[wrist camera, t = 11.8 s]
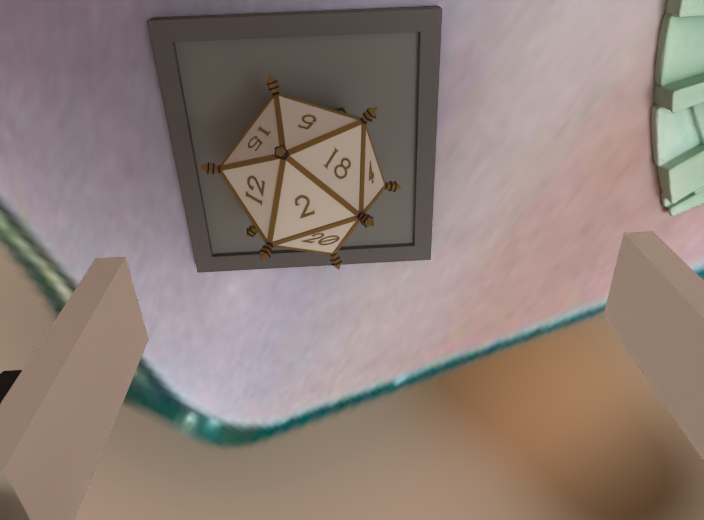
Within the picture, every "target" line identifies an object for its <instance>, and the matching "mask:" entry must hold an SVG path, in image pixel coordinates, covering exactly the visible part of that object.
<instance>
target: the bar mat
mask: <svg viewBox="0 0 704 520" xmlns="http://www.w3.org/2000/svg"><path fill="white" fill-rule="evenodd" d="M441 21H442V8H441V7H439V6H424V7H400V8H375V9H351V10H327V11H303V12H278V13H254V14H230V15H206V16H181V17H157V18H151V19H149V20H148V21H147V23H148V28H149V33H150V38H151V43H152V48H153V53H154V58H155V63H156V68H157V73H158V78H159V83H160V88H161V93H162V98H163V103H164V108H165V113H166V118H167V123H168V128H169V133H170V138H171V143H172V148H173V153H174V158H175V163H176V168H177V173H178V178H179V183H180V188H181V193H182V198H183V203H184V208H185V213H186V217H187V222H188V227H189V232H190V237H191V242H192V247H193V252H194V257H195V262H196V267H197V272H214V271H232V270H251V269H269V268H287V267H305V266H323V265H331V264H332V262H331V261H330V259H331V256H330V255H329V254H322V253H314V252H306V251H299V250H291V249H284V248H276V247H273V248H272V252H273V253H271V254H270V256H271V257H270V258H266V259H264V260H262V261H260V254H259V251H260V249H261V250H262V246H263V245H265V244H266V243H265V242H264V240H263V239H262V237H261V236H260V234H259V233H258V232H257V233H256V235H254V236H253V237H246V236H247V228H249V226H252V225H253V224H252V222H251V221H250V219H249V218H248V216H247V215H246V213H245V212H244V210H243V209H242V207H241V205H240V204H239V202H238V201H237V199H236V198H235V196H234V195H233V193H232V192H231V190H230V188H229V187H228V185H227V184H226V182H225V181H224V179H223V178H222V176H221V175H220V173H214V175H213V174H212V173H208V174H207V173H206V172H205V171H204V170H202V169H201V168H200V166H202V165H204V164H207V163H208V162H209V163H211V164H213V163H214V164H216V165H221V163H222V162H223V161H224V159H225V158H226V157H227V155H228V154H229V153H230V151H231V150H232V149H233V147H234V146H235V145H236V143H237V142H238V141H239V139H240V138H241V137H242V135H243V134H244V133H245V131H246V130H247V129H248V127H249V126H250V125H251V123H252V122H253V121H254V119H255V118H256V117H257V115H258V114H259V113H260V112H261V110H262V109H263V108H264V106H265V105H266V104H267V102H268V101H269V100H270V98H271V97H272V93H271V91H270V90H268V89H269V88H268V85H266V84H267V81H268V75H270V76H272V77H273V78H274V79H275V80H276V81H277V80H278V82H277V83H278V86H280V87H279V92H280V93H281V94H284V95H288V96H291V97H294V98H298V99H301V100H304V101H307V102H311V103H314V104H317V105H321V106H324V107H327V108H331V109H334V110H337V109H340V108H345V111H346V112H347V114H350V115H354V116H357V117H360V118H362V116H363V113H364V112H366V110H367V109H368V108H374V107H378V108H377V112H376V118H374V119H373V120H372V122H371V121H370V122H368V123H367V124H366V125H367V128H368V131H369V134H370V137H371V140H372V143H373V146H374V150H375V153H376V156H377V159H378V162H379V165H380V168H381V171H382V174H383V177H384V180H385V182H390V181H392V182H394V181H396V183H397V184H398V185H400V186H401V187H402V188H400V189H398V190H396V191H395V192H393V191H388V189H385V190H384V191H383V192H382V194H381V195H380V196H379V198H378V199H377V200H376V201H375V203H374V204H373V205H372V207H371V208H370V209H369V211H368V212H367V213H366V214H368V215H370V216H371V217H374V218H373V222H374V226H368V227H366V228H365V226H364V225H362V224H361V222H359V224H358V225H357V226H356V228H355V229H354V230H353V232H352V233H351V234H350V236H349V237H348V238H347V240H346V241H345V242H344V243H343V245H342V246H341V247H340V249H339V250H338V251H337V255H338V256H339V257H340V260H341V261H342V262H341V264H359V263H377V262H396V261H414V260H431V239H432V217H433V196H434V174H435V152H436V130H437V108H438V87H439V65H440V43H441ZM341 264H340V265H341Z"/></svg>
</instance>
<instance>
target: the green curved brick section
mask: <svg viewBox="0 0 704 520" xmlns="http://www.w3.org/2000/svg"><path fill="white" fill-rule="evenodd" d="M654 80H655V87H654V105H653V106H652V108H651V137H652V149H653V160H654V163H655V164H656V165H657V169H658V176H659V181H660V186H661V189H662V193H661V199H662V204H663V206H664V207H667V208H668V212H669V214H670V216H675V215H678V214H680V213H682V212H685V211H687V210H689V209H692V208H694V207H697V206H700V205H702V204H704V0H668V1H667V6H666V11H665V15H664V17H663V19H662V23H661V28H660V34H659V40H658V46H657V56H656V66H655V79H654Z"/></svg>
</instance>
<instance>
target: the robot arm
mask: <svg viewBox="0 0 704 520" xmlns="http://www.w3.org/2000/svg"><path fill="white" fill-rule="evenodd" d="M604 318H605V319H606V320H607V322H608V323H609V325H610V326H611V328H612V329H613V331H614V332H615V334H616V335H617V336H618V338H619V339H620V341H621V342H622V344H623V345H624V347H625V348H626V349H627V351H628V352H629V354H630V355H631V357H632V358H633V359H634V361H635V362H636V364H637V365H638V367H639V368H640V370H641V371H642V373H643V374H644V375H645V377H646V378H647V380H648V381H649V383H650V384H651V386H652V387H653V388H654V390H655V391H656V393H657V394H658V396H659V397H660V399H661V400H662V401H663V403H664V404H665V406H666V407H667V409H668V410H669V412H670V413H671V414H672V416H673V418H674V419H675V420H676V422H677V423H678V425H679V426H680V428H681V429H682V431H683V432H684V433H685V435H686V436H687V438H688V439H689V440H690V442H691V444H692V445H693V446H694V448H695V449H696V451H697V452H698V454H699V455H700V457H701V458H702V459H703V461H704V281H703V280H702V279H701V278H700V277H699V276H698V275H697V274H696V273H695V272H694V271H693V270H692V269H691V268H690V267H689V266H688V265H687V264H686V263H685V262H684V261H683V260H682V259H681V258H680V257H679V256H677V255H676V254H675V253H674V252H673V251H672V250H671V249H670V248H669V247H668V246H667V245H666V244H665V243H664V242H663V241H662V240H661V239H660V238H659V237H658V236H657V235H656V234H655V233H654V232H653V231H649V232H628V233H624V235H623V239H622V243H621V247H620V251H619V255H618V259H617V263H616V267H615V271H614V275H613V279H612V283H611V287H610V291H609V296H608V300H607V304H606V308H605V312H604ZM148 340H149V339H148V336H147V332H146V329H145V325H144V321H143V318H142V314H141V311H140V307H139V303H138V300H137V296H136V293H135V289H134V286H133V282H132V278H131V275H130V271H129V268H128V264H127V261H126V257H114V258H96V259H95V261H94V262H93V264H92V265H91V267H90V268H89V270H88V271H87V273H86V274H85V276H84V277H83V279H82V280H81V282H80V283H79V285H78V286H77V288H76V289H75V291H74V292H73V294H72V296H71V297H70V299H69V300H68V302H67V303H66V305H65V306H64V308H63V309H62V311H61V312H60V314H59V315H58V317H57V318H56V320H55V321H54V323H53V324H52V326H51V327H50V329H49V330H48V332H47V334H46V335H45V337H44V338H43V340H42V341H41V343H40V344H39V346H38V347H37V349H36V350H35V352H34V353H33V355H32V357H31V358H30V359H29V361H28V363H27V364H26V365H25V367H24V369H23V370H14V371H3V372H2V373H1V374H0V520H75V518H76V515H77V513H78V511H79V508H80V506H81V503H82V501H83V498H84V496H85V493H86V491H87V489H88V486H89V484H90V481H91V478H92V476H93V474H94V471H95V469H96V466H97V464H98V462H99V459H100V457H101V454H102V452H103V449H104V447H105V444H106V442H107V440H108V437H109V435H110V432H111V430H112V428H113V425H114V423H115V420H116V418H117V415H118V413H119V410H120V408H121V406H122V403H123V401H124V398H125V396H126V393H127V391H128V388H129V386H130V384H131V381H132V379H133V376H134V374H135V371H136V369H137V366H138V364H139V362H140V359H141V357H142V354H143V352H144V349H145V347H146V345H147V342H148Z"/></svg>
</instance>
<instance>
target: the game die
mask: <svg viewBox="0 0 704 520" xmlns="http://www.w3.org/2000/svg"><path fill="white" fill-rule="evenodd" d="M277 82H278V80H277V81H276V80H275V79H274V78H273V77H272V76H270V75H268V81H267V84H266V85H268V88H269V89H268V90H270V91H271V93H272V97H271V98H270V100H269V101H268V102H267V104H266V105H265V106H264V108H263V109H262V110H261V112H260V113H259V114H258V115H257V117H256V118H255V119H254V121H253V122H252V123H251V125H250V126H249V127H248V129H247V130H246V131H245V133H244V134H243V135H242V137H241V138H240V139H239V141H238V142H237V143H236V145H235V146H234V147H233V149H232V150H231V151H230V153H229V154H228V155H227V157H226V158H225V159H224V161H223V162H222V163H221V165H216V164H214V163H213V164H211V163H209V162H208V163H207V164H204V165H202V166H200V168H201V169H202V170H204V171H205V172H206V173H207V174H208V173H212V174H213V175H214V173H220V175H221V176H222V178H223V179H224V181H225V182H226V184H227V185H228V187H229V188H230V190H231V192H232V193H233V195H234V196H235V198H236V199H237V201H238V202H239V204H240V205H241V207H242V209H243V210H244V212H245V213H246V215H247V216H248V218H249V219H250V221H251V222H252V224H253V225H252V226H249V228H247V236H246V237H253V236H254V235H256V233H257V232H258V233H259V234H260V236H261V237H262V239H263V240H264V242H265V243H266V244H265V245H263V246H262V250H261V249H260V251H259V254H260V261H262V260H264V259H266V258H270V257H271V256H270V254H271V253H273V252H272V248H273V247H276V248H284V249H291V250H299V251H306V252H314V253H322V254H329V255H330V256H331V259H330V261H331V262H332V264H331V265H333V266H335V267H336V268H338V269H339V268H340V264H341V262H342V261H341V260H340V257H339V256H338V255H337V251H338V250H339V249H340V247H341V246H342V245H343V243H344V242H345V241H346V240H347V238H348V237H349V236H350V234H351V233H352V232H353V230H354V229H355V228H356V226H357V225H358V224H359V222H361V224H362V225H364V226H365V228H366V227H368V226H374V222H373V218H374V217H371V216H370V215H368V214H366V213H367V212H368V211H369V209H370V208H371V207H372V205H373V204H374V203H375V201H376V200H377V199H378V198H379V196H380V195H381V194H382V192H383V191H384V190H385V189H388V191H393V192H395V191H396V190H398V189H400V188H402V187H401V186H400V185H398V184H397V183H396V181H394V182H392V181H390V182H385V180H384V177H383V174H382V171H381V168H380V165H379V162H378V159H377V156H376V153H375V150H374V146H373V143H372V140H371V137H370V134H369V131H368V128H367V125H366V124H367V123H368V122H370V121H371V122H372V120H373V119H374V118H376V112H377V108H378V107H374V108H368V109H367V110H366V112H364V113H363V116H362V118H360V117H357V116H354V115H350V114H347V112H346V111H345V108H340V109H337V110H334V109H331V108H327V107H324V106H321V105H317V104H314V103H311V102H307V101H304V100H301V99H298V98H294V97H291V96H288V95H284V94H281V93H280V92H279V87H280V86H278V83H277Z"/></svg>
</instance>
